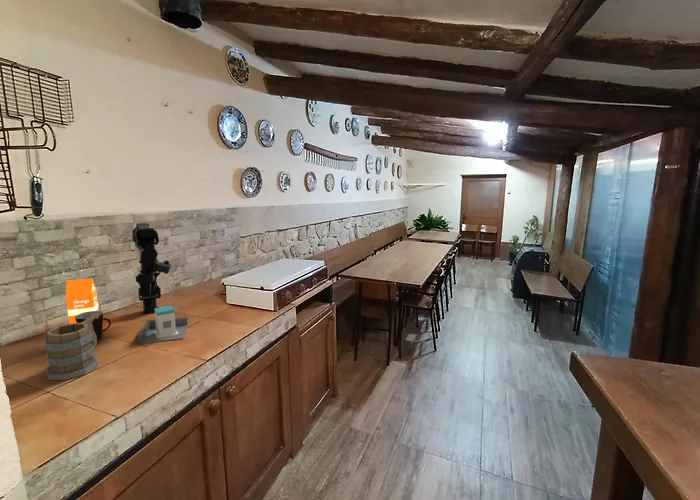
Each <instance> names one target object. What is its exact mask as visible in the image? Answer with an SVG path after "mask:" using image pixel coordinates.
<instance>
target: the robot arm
mask: <svg viewBox="0 0 700 500" xmlns="http://www.w3.org/2000/svg"><path fill="white" fill-rule="evenodd" d="M131 234H132V242H133V243H134V247H135V248H136V249H137V250H138V251H139V258H140V260H139V264H140V270H139V273H138V274H137V275H136V276H135V282H136V283H137V284H138V286H139V288H138V290H137V292H138V301H139V302H141V301H142V311H141V312H140V313H141V314H151V313H154V314H155V310H154V309H155V308H160V306H158V303H157V299H161V297H162V293H161V291H162V289H161V287H160V286H159V285H158V282H157V279H158V276H160V275H161V273H162V274H166V275H168V274H169V273H170V272H171V271H170V270H171V268H172V264H171V263H170V261H169V260H165V261H164V262H163V261H161V262H160V261H159V259H158V258H157V257H158V251H157V250H156V248H155V246H156V245H159V242H160V238H159V233H158V232H157V230H155V228H154V227H150V224H149V223H147V222H145V223H144V222H143V223H136V227H134V229H132V232H131Z"/></svg>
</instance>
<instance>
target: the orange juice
mask: <svg viewBox="0 0 700 500" xmlns="http://www.w3.org/2000/svg"><path fill="white" fill-rule="evenodd" d="M93 279H94V278H83V279H82V278H81V279H71V280H70V279H69V280H66V289H65V290H66V291H65V301H66V307H67V317H68V324H71V323H76V319H75V316H76V315H78V314H81V313H84V312H89V311H100V310H99V300H98V295H97V288H96V284H95V283H94V282H95V281H94V280H93Z"/></svg>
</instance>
